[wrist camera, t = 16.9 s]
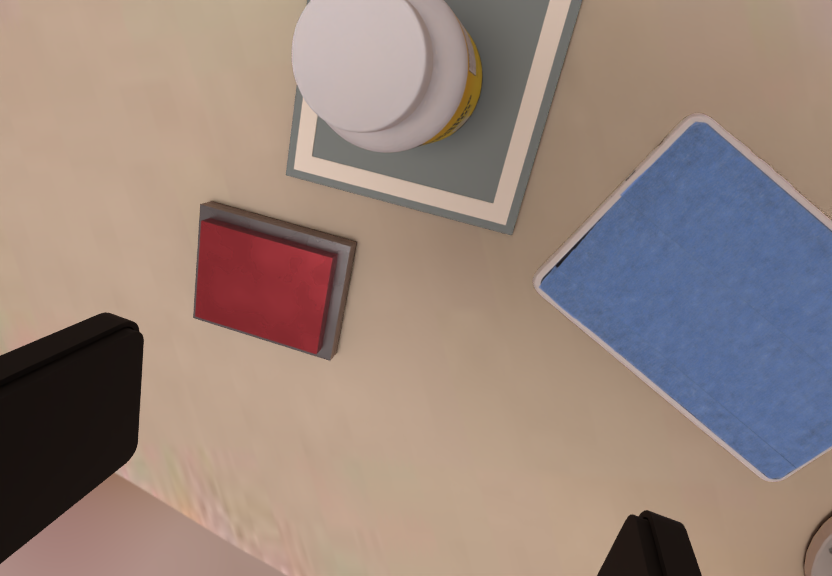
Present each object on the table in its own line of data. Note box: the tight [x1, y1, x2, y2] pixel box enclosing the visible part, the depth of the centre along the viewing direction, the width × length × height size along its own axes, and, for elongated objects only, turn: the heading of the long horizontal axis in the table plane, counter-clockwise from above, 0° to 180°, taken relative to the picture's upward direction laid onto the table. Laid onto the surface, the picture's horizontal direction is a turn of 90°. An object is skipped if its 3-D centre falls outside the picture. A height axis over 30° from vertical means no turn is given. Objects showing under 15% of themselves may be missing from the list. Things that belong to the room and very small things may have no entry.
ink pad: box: [193, 201, 357, 360], centre depth 33 cm, size 10×8×2 cm
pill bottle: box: [292, 0, 483, 153], centre depth 22 cm, size 6×6×12 cm
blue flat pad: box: [533, 113, 832, 482], centre depth 28 cm, size 19×13×1 cm, turn 52°
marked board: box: [286, 0, 582, 235], centre depth 27 cm, size 14×14×1 cm
